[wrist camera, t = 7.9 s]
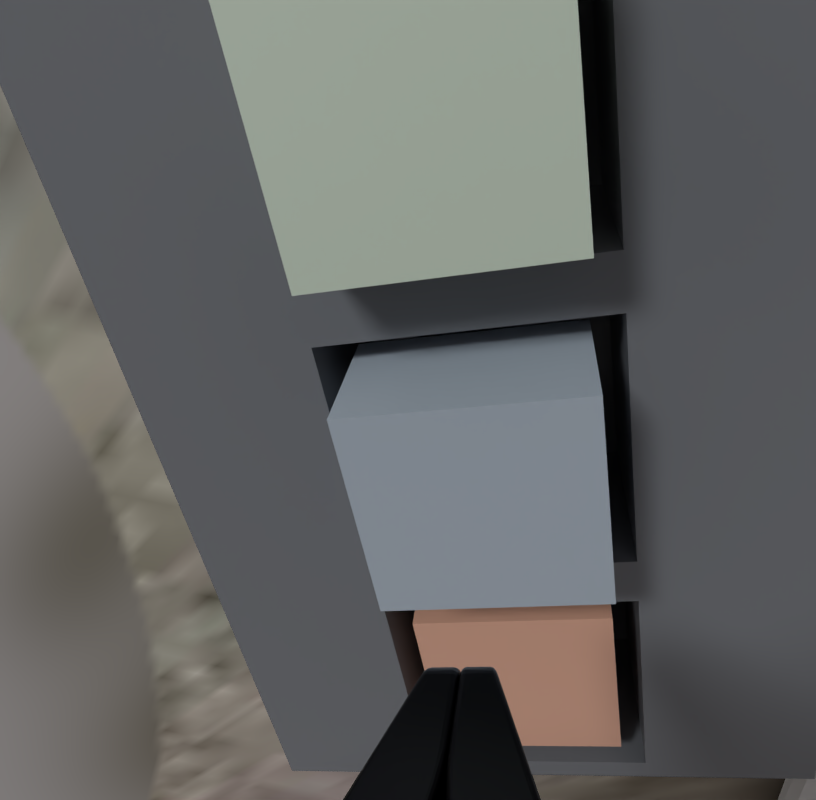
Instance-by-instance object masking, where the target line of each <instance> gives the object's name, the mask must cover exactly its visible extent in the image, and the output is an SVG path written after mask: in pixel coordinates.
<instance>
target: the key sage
mask: <svg viewBox="0 0 816 800" xmlns="http://www.w3.org/2000/svg"><path fill="white" fill-rule="evenodd" d="M209 3H210V7H211V10H212V14H213V18H214V21H215V25H216V28H217V32H218V35H219V39H220V42H221V46H222V50H223V53H224V57H225V60H226V64H227V67H228V71H229V74H230V78H231V82H232V85H233V89H234V92H235V96H236V99H237V103H238V106H239V110H240V114H241V117H242V121H243V124H244V128H245V131H246V135H247V138H248V142H249V145H250V149H251V153H252V156H253V160H254V163H255V167H256V170H257V174H258V177H259V181H260V185H261V188H262V192H263V195H264V199H265V202H266V206H267V209H268V213H269V217H270V220H271V224H272V227H273V231H274V234H275V238H276V241H277V245H278V248H279V252H280V256H281V259H282V263H283V266H284V270H285V273H286V277H287V280H288V284H289V288H290V291H291V295H292V296H297V295H305V294H313V293H321V292H329V291H337V290H345V289H353V288H361V287H369V286H377V285H385V284H393V283H400V282H408V281H416V280H424V279H432V278H440V277H448V276H456V275H464V274H472V273H480V272H488V271H496V270H504V269H512V268H520V267H528V266H536V265H544V264H552V263H560V262H568V261H576V260H583V259H591V258H594V251H593V235H592V219H591V204H590V188H589V172H588V156H587V141H586V125H585V109H584V94H583V78H582V62H581V47H580V31H579V15H578V0H209Z"/></svg>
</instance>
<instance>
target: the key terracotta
mask: <svg viewBox="0 0 816 800" xmlns="http://www.w3.org/2000/svg"><path fill="white" fill-rule="evenodd" d="M413 627H414V631H415V635H416V639H417V643H418V647H419V651H420V655H421V659H422V663H423V667H424V671H425V670H426V669H428V668H431V667H455V668H458V669H459V670H460V672H461V671H462V669H463V668H465V667H493V668H494V669H495V670H496V671H497V674H498V677H499V679H500V682H501V685H502V688H503V691H504V694H505V697H506V700H507V703H508V706H509V709H510V712H511V715H512V717H513V720H514V723H515V726H516V729H517V732H518V735H519V738H520V741H521V744H522V746H610V747H621V735H620V720H619V706H618V691H617V676H616V661H615V647H614V632H613V618H612V610H611V604H603V605H570V606H537V607H505V608H472V609H439V610H415V612H414V618H413Z"/></svg>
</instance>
